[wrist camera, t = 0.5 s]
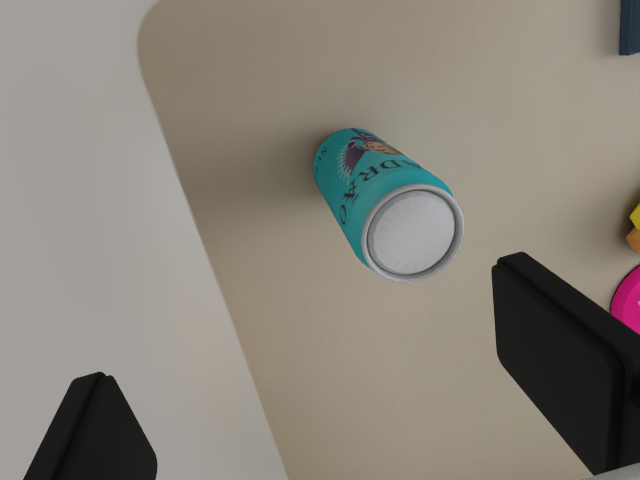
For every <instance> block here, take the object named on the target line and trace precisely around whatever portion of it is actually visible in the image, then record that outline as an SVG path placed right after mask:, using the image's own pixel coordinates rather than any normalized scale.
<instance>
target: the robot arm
mask: <svg viewBox="0 0 640 480" xmlns="http://www.w3.org/2000/svg"><path fill="white" fill-rule="evenodd" d="M492 287H493V302H494V317H495V332H496V348H497V355H498V358H499V360H500V362H501V364H502V366H503V367H504V368H505V369H506V371H507V372H508V373H509V374H510V375H511V377H512V378H513V379H514V380H515V381H516V383H517V384H518V385H519V386H520V387H521V389H522V390H523V391H524V392H525V393H526V395H527V396H528V397H529V398H530V399H531V401H532V402H533V403H534V404H535V405H536V407H537V408H538V409H539V410H540V411H541V413H542V414H543V415H544V416H545V418H546V419H547V420H548V421H549V422H550V424H551V425H552V426H553V427H554V428H555V430H556V431H557V432H558V433H559V434H560V436H561V437H562V438H563V439H564V440H565V442H566V443H567V444H568V445H569V446H570V448H571V449H572V450H573V451H574V452H575V454H576V455H577V456H578V457H579V458H580V460H581V461H582V462H583V463H584V464H585V466H586V467H587V468H588V469H589V471H590V472H591V473H592V474H593V475H594V476H592V477H588V478H585V479H582V480H640V335H639V334H638V333H637V332H635V331H634V330H632V329H631V328H630V327H628V326H627V325H625V324H624V323H623V322H621V321H620V320H618V319H617V318H616V317H614V316H613V315H611V314H610V313H609V312H607V311H606V310H604V309H603V308H602V307H600V306H599V305H597V304H596V303H595V302H593V301H592V300H590V299H589V298H588V297H586V296H585V295H583V294H582V293H581V292H579V291H578V290H576V289H575V288H574V287H572V286H571V285H569V284H568V283H567V282H565V281H564V280H562V279H561V278H560V277H558V276H557V275H556V274H554V273H553V272H551V271H550V270H549V269H547V268H546V267H544V266H543V265H542V264H540V263H539V262H537V261H536V260H535V259H533V258H532V257H530V256H529V255H528V254H526V253H524V252H518V253H514V254H511V255H507V256H504V257H500V258H499V259H498V261H497V265H494V266H493V267H492ZM156 474H157V458H156V455H155V452H154V451H153V449H152V447H151V445H150V443H149V441H148V440H147V438H146V436H145V434H144V432H143V430H142V428H141V426H140V425H139V423H138V421H137V420H136V417H135V415H134V414H133V412H132V410H131V408H130V406H129V404H128V402H127V401H126V399H125V397H124V395H123V393H122V391H121V390H120V388H119V386H118V384H117V382H116V380H115V379H114V377H113V376H110V375H109V376H106V375H105V374H104V373H102V372H97V373H93V374H90V375H86V376H83V377H79V378H76V379H74V380H73V381H72V382H71V385H70V386H69V388H68V390H67V393H66V394H65V396H64V399H63V401H62V402H61V404H60V406H59V408H58V410H57V412H56V415H55V416H54V419H53V420H52V422H51V424H50V426H49V428H48V431H47V433H46V435H45V437H44V439H43V441H42V443H41V445H40V447H39V449H38V451H37V453H36V455H35V457H34V459H33V461H32V463H31V465H30V467H29V469H28V471H27V473H26V475H25V477H24V479H23V480H155V479H156Z"/></svg>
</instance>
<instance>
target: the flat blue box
mask: <svg viewBox="0 0 640 480" xmlns="http://www.w3.org/2000/svg"><path fill="white" fill-rule="evenodd" d="M639 52H640V0H622V11H621V34H620V55H632V54H636V53H639Z"/></svg>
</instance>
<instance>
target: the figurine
mask: <svg viewBox="0 0 640 480" xmlns="http://www.w3.org/2000/svg"><path fill="white" fill-rule="evenodd" d="M611 315H613V316H614V317H616V318H617V319H618V320H620V321H621V322H623V323H624V324H625V325H627V326H628V327H630V328H631V329H632V330H634V331H635V332H637V333H638V334H639V335H640V266H639V267H637V268H636V269H635V270H634V271H633V272H631V273H630V274H629V275H628V276H627V277H626V279H625V280H624V281H623V282H622V284H621V285H620V287H619V288H618V290H617V292H616V294H615V296H614V299H613V302H612V306H611Z"/></svg>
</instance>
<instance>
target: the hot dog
mask: <svg viewBox="0 0 640 480" xmlns="http://www.w3.org/2000/svg"><path fill="white" fill-rule="evenodd" d="M630 219H631V220H632V222H633V223H634V225H635V227H634V228H633V229H632V231H631V232H630V233H629V234H628V236H627V237H626V238H627V241H628V244H629V245H630V246H631V248H632V249H634V250H635V251H636V252H638V253H640V203H638V205H637V206H636V208H635V209H634V211H633V212H632V214H631V215H630Z"/></svg>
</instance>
